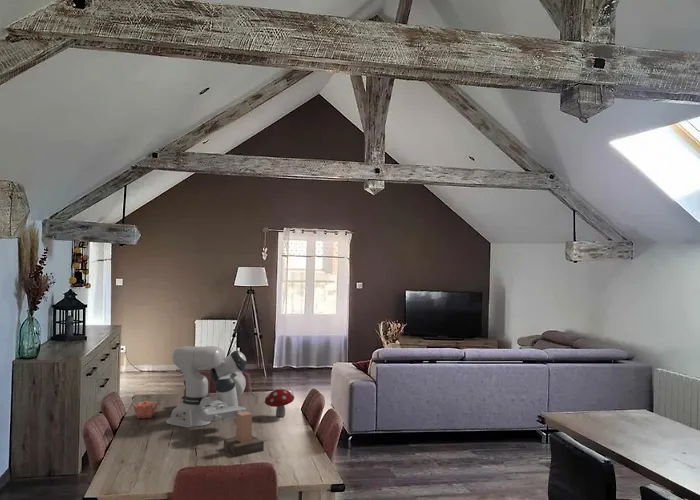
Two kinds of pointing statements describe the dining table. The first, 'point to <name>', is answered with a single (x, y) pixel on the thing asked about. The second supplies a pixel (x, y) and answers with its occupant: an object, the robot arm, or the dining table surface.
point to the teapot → (145, 409)
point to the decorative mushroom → (279, 400)
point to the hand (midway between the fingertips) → (231, 417)
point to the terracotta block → (244, 427)
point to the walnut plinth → (243, 446)
